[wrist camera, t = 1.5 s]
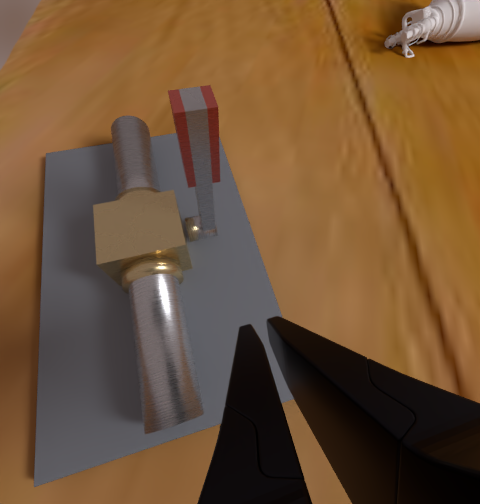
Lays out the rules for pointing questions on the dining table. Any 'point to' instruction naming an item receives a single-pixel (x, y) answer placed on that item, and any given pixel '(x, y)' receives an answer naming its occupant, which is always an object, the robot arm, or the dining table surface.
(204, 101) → the lever
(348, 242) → the dining table surface
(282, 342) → the robot arm
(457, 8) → the rocket engine
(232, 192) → the mounting board
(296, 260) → the dining table surface
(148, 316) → the valve
